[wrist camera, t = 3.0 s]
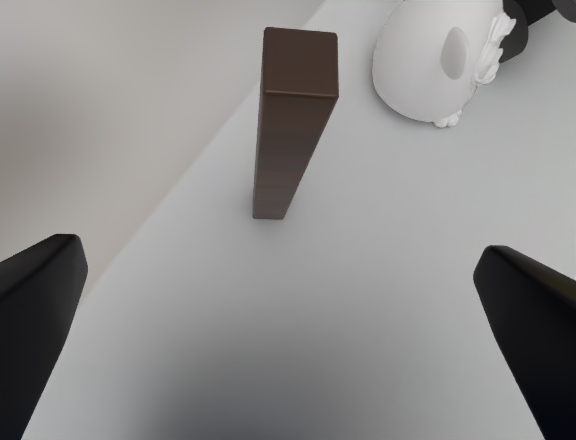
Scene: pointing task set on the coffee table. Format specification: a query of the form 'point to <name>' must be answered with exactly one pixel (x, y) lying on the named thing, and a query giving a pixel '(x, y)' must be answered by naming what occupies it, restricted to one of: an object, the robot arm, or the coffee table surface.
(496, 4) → the figurine
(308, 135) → the stick
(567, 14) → the character figurine
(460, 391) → the coffee table surface
